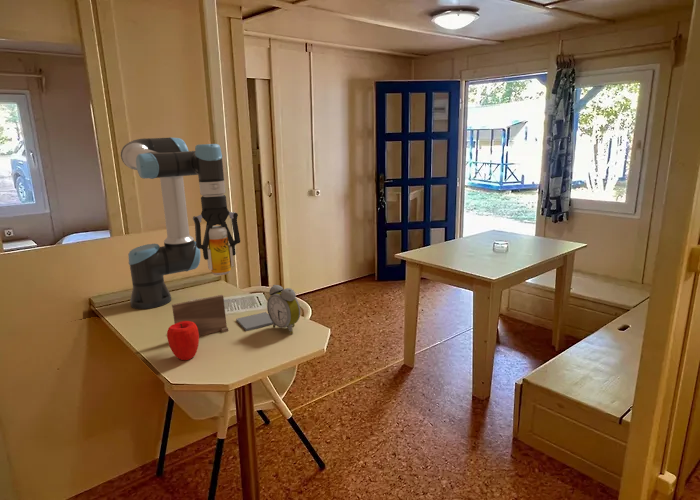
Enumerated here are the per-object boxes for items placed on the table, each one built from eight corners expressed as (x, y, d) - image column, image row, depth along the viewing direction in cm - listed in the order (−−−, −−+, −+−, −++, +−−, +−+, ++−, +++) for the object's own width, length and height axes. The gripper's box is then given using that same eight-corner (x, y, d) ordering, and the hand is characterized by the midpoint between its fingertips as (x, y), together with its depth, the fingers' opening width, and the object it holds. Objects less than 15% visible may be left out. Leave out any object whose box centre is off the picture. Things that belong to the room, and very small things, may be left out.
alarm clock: (268, 328, 154) (264, 285, 150) (283, 321, 158) (280, 280, 155) (290, 336, 146) (286, 292, 142) (306, 329, 151) (303, 286, 147)
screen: (175, 337, 149) (171, 303, 146) (224, 326, 157) (220, 293, 154) (178, 343, 145) (173, 307, 142) (228, 331, 152) (224, 297, 150)
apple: (177, 350, 139) (173, 317, 137) (205, 350, 139) (201, 317, 136) (165, 364, 130) (160, 329, 128) (195, 364, 130) (190, 328, 128)
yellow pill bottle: (225, 276, 142) (220, 229, 139) (208, 275, 144) (202, 228, 140) (234, 270, 148) (230, 225, 144) (217, 270, 149) (212, 225, 146)
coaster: (236, 320, 161) (236, 318, 161) (265, 314, 166) (265, 311, 166) (246, 331, 152) (245, 328, 152) (277, 323, 157) (276, 321, 157)
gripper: (182, 199, 133) (192, 275, 138) (246, 193, 141) (253, 265, 147) (179, 196, 139) (188, 269, 144) (240, 191, 148) (246, 260, 153)
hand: (221, 267), depth 145 cm, fingers closed on yellow pill bottle, 6 cm apart
